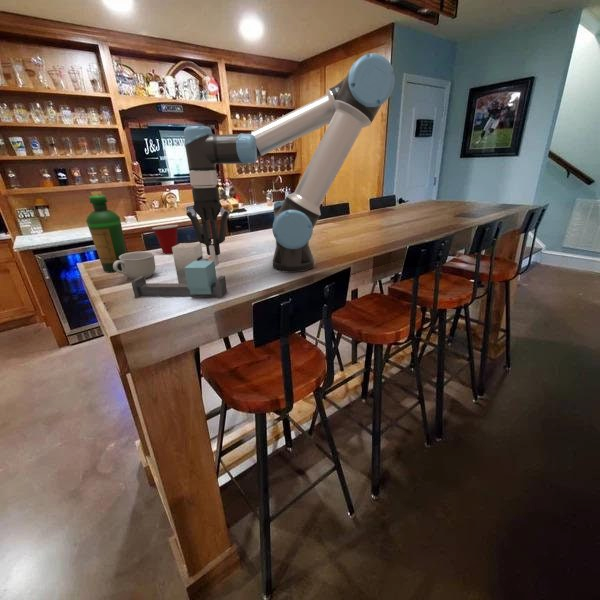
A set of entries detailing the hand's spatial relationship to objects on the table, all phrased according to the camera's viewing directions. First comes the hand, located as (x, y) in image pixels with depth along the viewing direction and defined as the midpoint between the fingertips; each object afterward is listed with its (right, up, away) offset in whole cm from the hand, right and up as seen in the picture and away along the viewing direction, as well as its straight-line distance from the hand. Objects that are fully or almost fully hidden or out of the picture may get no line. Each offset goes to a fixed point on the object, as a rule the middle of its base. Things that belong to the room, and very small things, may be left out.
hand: (215, 264), depth 102 cm
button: (-4, -2, +1) cm, 4 cm away
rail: (-8, -10, -8) cm, 15 cm away
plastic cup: (-31, +10, +41) cm, 52 cm away
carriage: (-1, -9, -9) cm, 13 cm away
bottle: (-42, 0, +19) cm, 46 cm away
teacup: (-29, -4, +8) cm, 31 cm away
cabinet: (-8, -5, +3) cm, 10 cm away
